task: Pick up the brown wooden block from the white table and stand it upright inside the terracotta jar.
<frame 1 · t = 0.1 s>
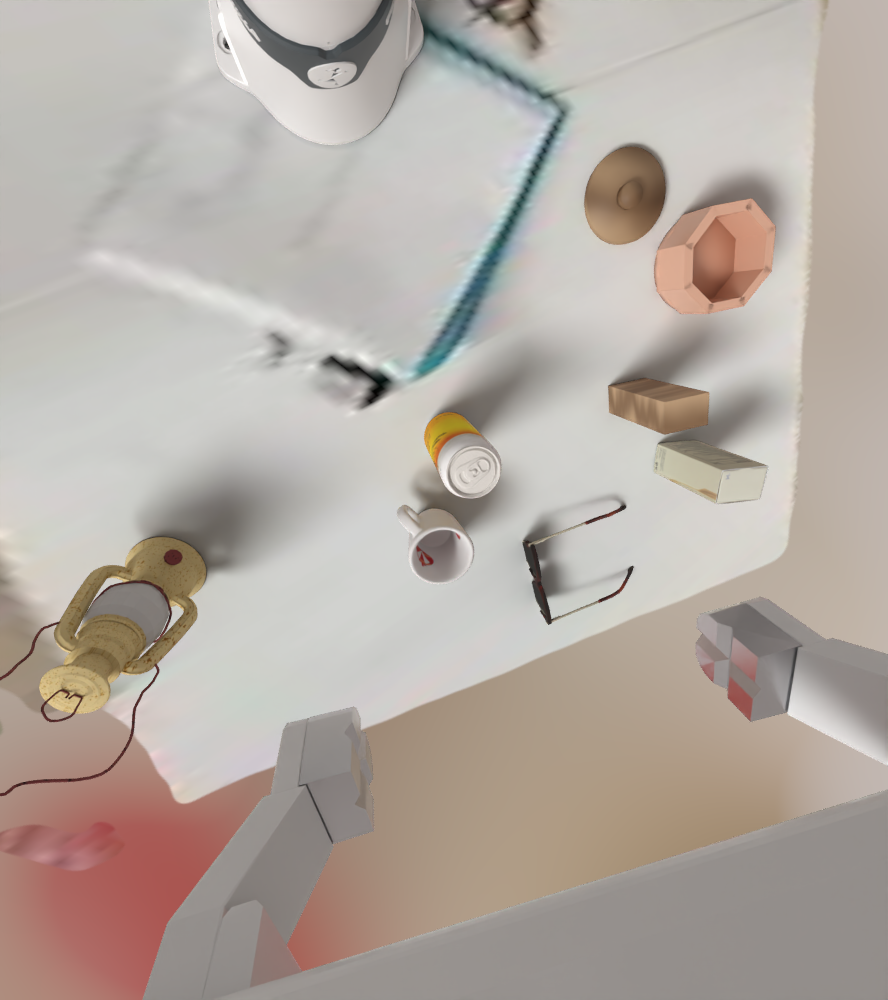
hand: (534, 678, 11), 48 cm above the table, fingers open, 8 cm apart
cup: (425, 521, 62), on the table
beer can: (447, 434, 58), on the table
jar lid: (621, 199, 51), on the table
sunglasses: (577, 552, 68), on the table
brown wooden block: (627, 395, 60), on the table
jar: (695, 263, 55), on the table
lantern: (169, 566, 58), on the table
skincare box: (674, 455, 64), on the table
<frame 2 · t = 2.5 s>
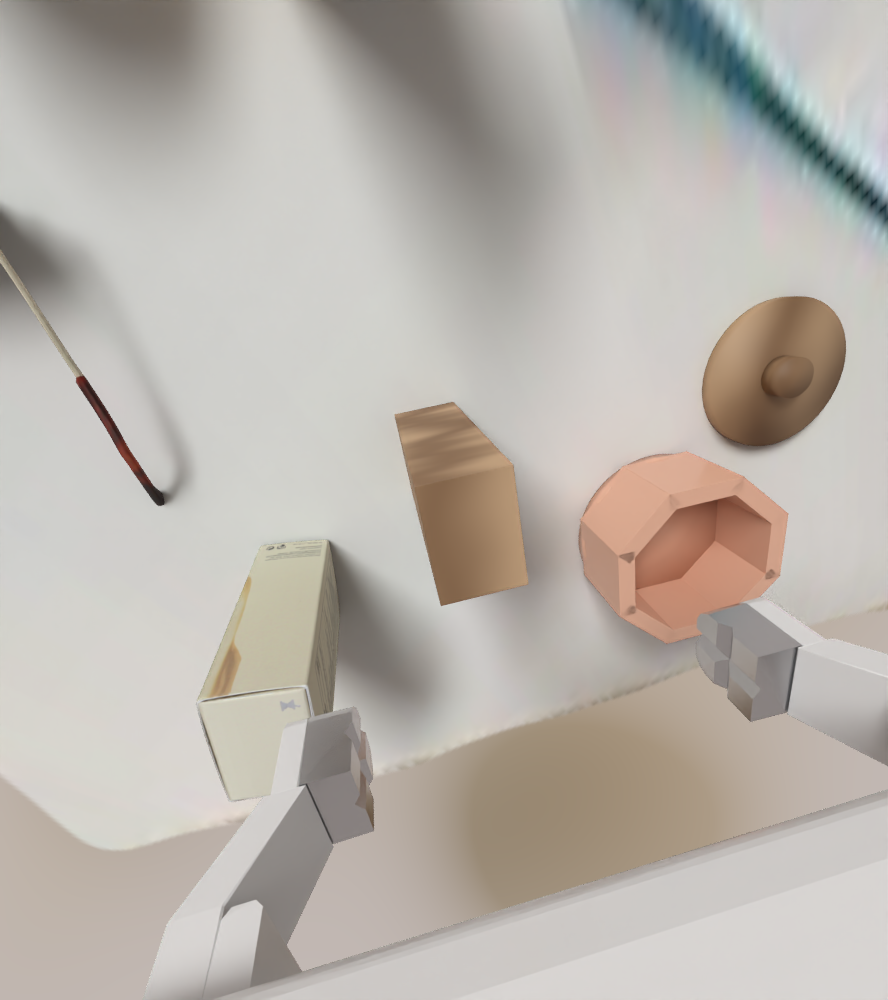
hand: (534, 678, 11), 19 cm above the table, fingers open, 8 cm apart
jar lid: (763, 373, 30), on the table
brown wooden block: (432, 448, 28), on the table
jar: (650, 526, 32), on the table
skincare box: (302, 582, 30), on the table
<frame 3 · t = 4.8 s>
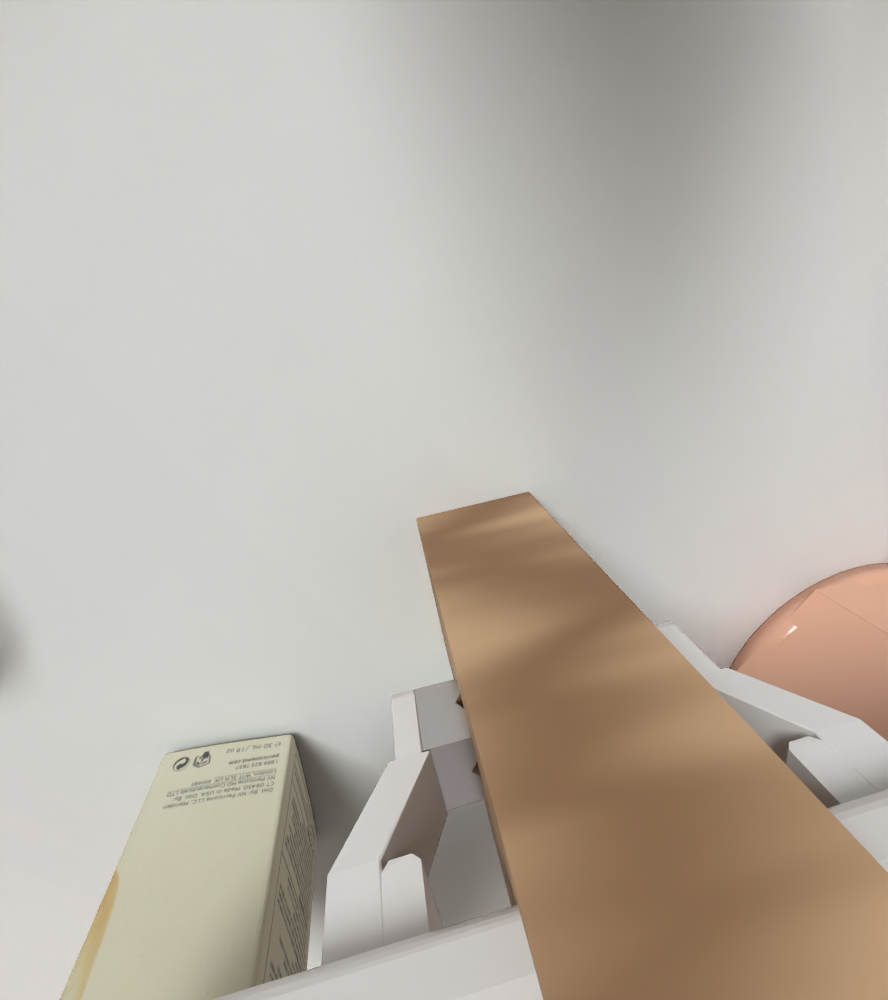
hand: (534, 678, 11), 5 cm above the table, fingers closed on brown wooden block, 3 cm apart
brown wooden block: (485, 574, 15), on the table, touching gripper
jar: (834, 672, 19), on the table
skincare box: (250, 795, 17), on the table
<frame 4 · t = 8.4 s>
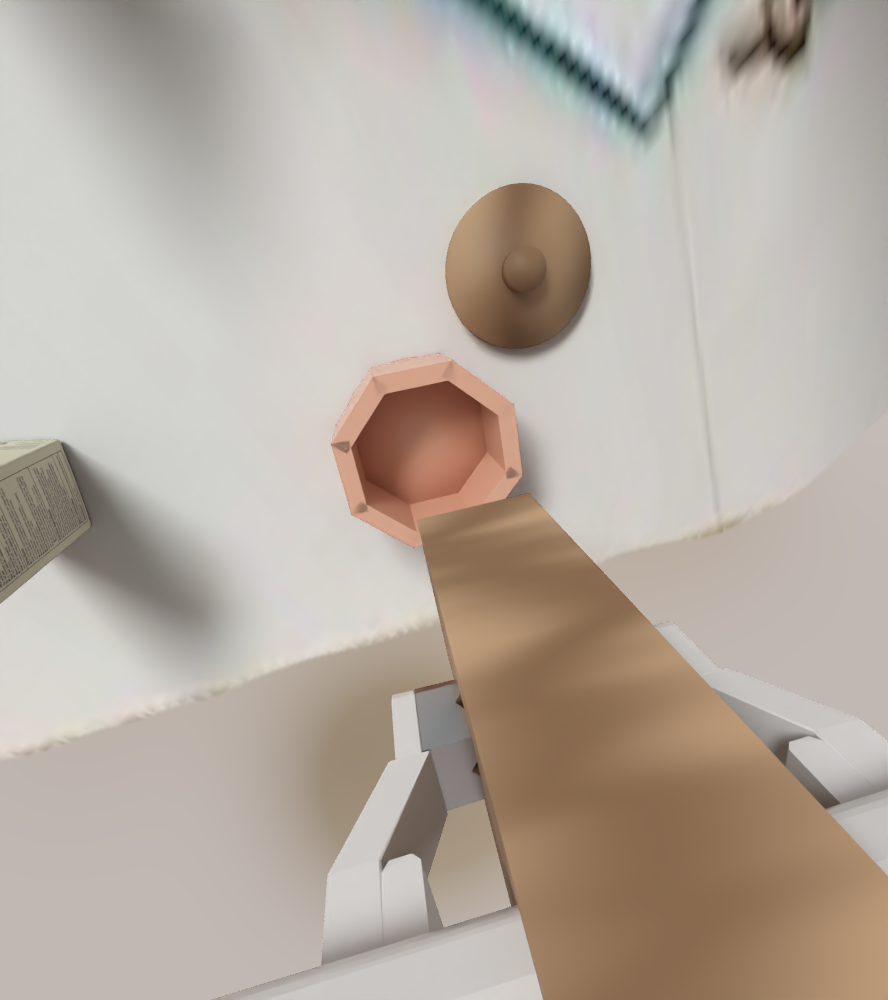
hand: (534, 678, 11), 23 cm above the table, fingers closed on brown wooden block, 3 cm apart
jar lid: (514, 272, 29), on the table
brown wooden block: (485, 575, 15), point 18 cm above the table, touching gripper
jar: (420, 437, 32), on the table
skincare box: (44, 488, 29), on the table
when the fingers open (7 cm above the table, at t = 12.1 s): brown wooden block stays where it is, resting on jar.
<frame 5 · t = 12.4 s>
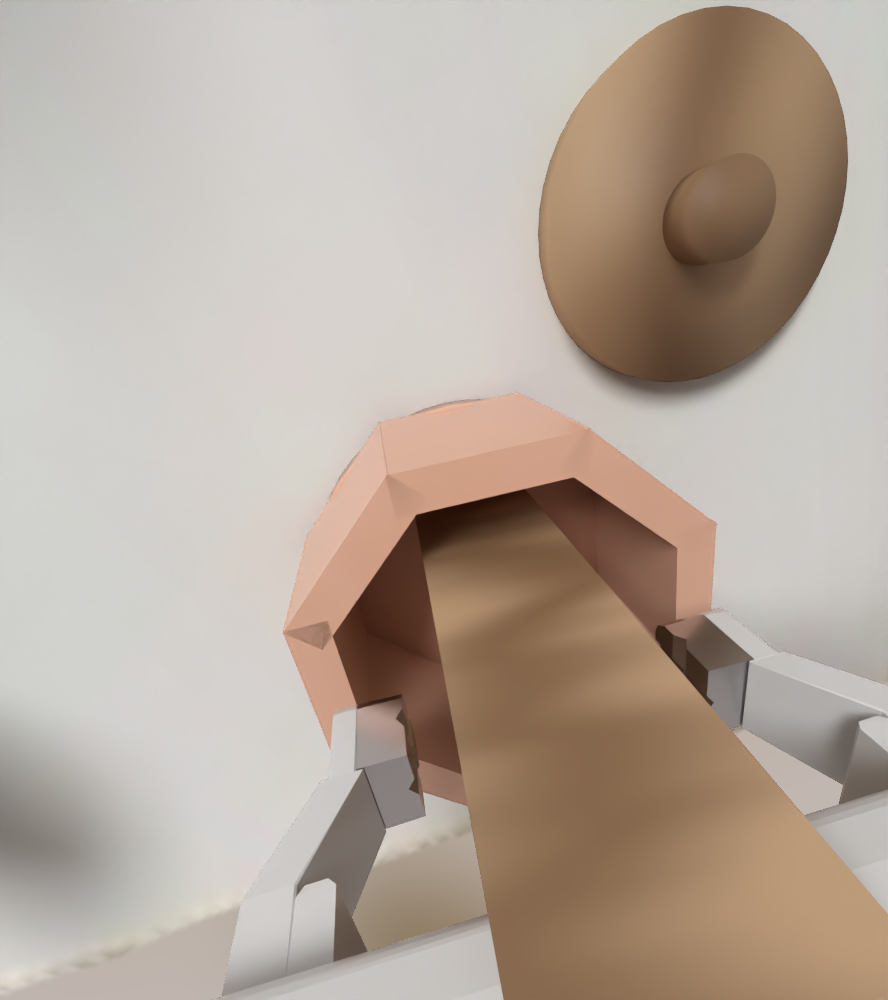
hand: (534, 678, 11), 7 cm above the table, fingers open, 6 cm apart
jar lid: (675, 226, 14), on the table
brown wooden block: (479, 561, 16), point 1 cm above the table, touching jar
jar: (471, 547, 17), on the table
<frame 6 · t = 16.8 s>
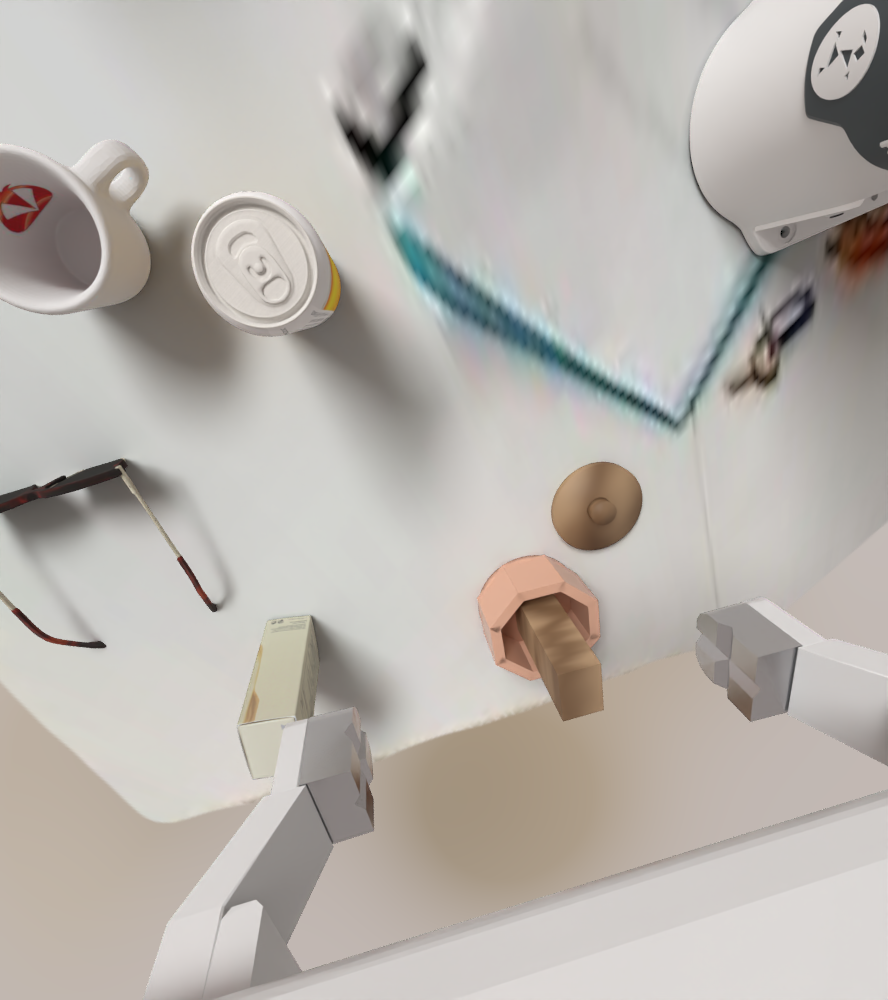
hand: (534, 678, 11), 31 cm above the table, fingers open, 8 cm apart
cup: (118, 236, 32), on the table
beer can: (299, 284, 34), on the table
jar lid: (593, 504, 46), on the table
sunglasses: (116, 555, 40), on the table
brown wooden block: (530, 605, 47), point 1 cm above the table, touching jar
jar: (527, 599, 48), on the table
skincare box: (294, 641, 46), on the table
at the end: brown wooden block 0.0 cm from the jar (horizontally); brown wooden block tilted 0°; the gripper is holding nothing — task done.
